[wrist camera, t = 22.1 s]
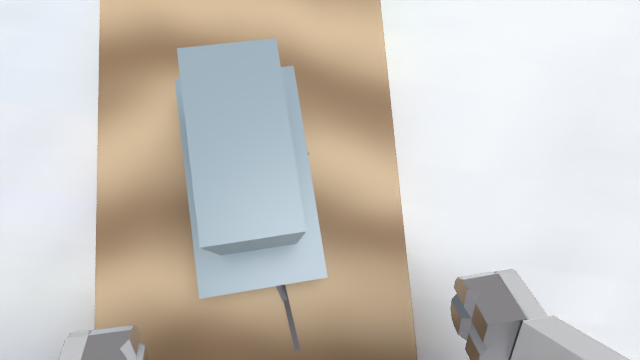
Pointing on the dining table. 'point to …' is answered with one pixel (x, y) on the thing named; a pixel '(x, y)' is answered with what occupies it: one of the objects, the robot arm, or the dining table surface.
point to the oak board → (326, 171)
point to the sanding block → (246, 169)
